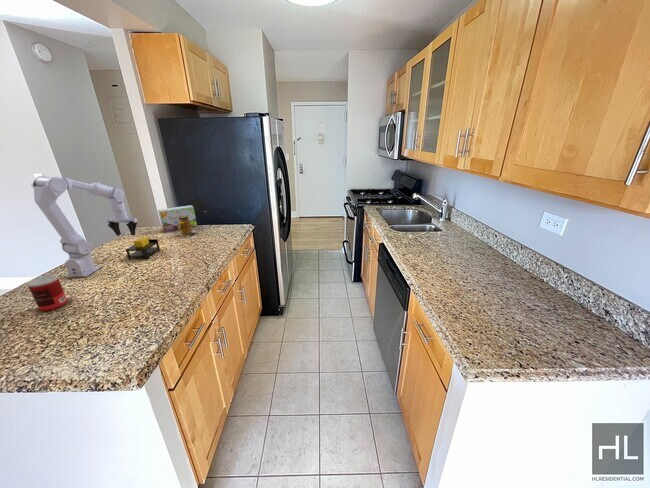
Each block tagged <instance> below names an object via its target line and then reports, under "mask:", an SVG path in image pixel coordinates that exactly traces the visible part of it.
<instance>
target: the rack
mask: <svg viewBox="0 0 650 488" xmlns="http://www.w3.org/2000/svg"><path fill="white" fill-rule="evenodd" d="M148 240H149V244H147V245H145V246H144V247H135V245H134V244H133V245H131V246H129V247H128V248H125V252H126V255H127V258H128V260H131V259H132V258H146V260H149V259H150V258H149V257H150V256H151V255H152V254H153V253H155V252H161V247H160V245H159V240H158V238H148ZM155 245H156V247H154V246H155ZM130 252H132V253H131V254H130Z"/></svg>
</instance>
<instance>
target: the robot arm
mask: <svg viewBox="0 0 650 488" xmlns="http://www.w3.org/2000/svg"><path fill="white" fill-rule="evenodd" d="M30 185H31V187H32V189H33V197H34V199H33V200H34V202H35V204H36V205H37V207H38V208H39V209H40V211H41V212H42V214H43V215H44V217H46V219H47V220H48V222H49V223H50V224H51V226H52V227H53V228H54V230H55V231H56V232H57V234H58V235H59V237H60V238H61V239H60V240H59V243H60V244H61V249H62V251H63V252H65V253H66V254H68V256H69V258H68V259H67V260H65V263H64V266H65V268H66V271H67V273H68V275H67V278H85V277H88V276H90V275H91V274H94V272H96V271H97V270H100V269H101V268H102V266H96V264H95V262H94V259H93V257H92V253H91V252H92V251H93V245H92V243H91V242H89V241H87V240H86V239H85V237H84V236H82V235H80V234H78V232H77V231H76V229H75V228H74V227H73V225H72V224H71V223H70V221H69V219H68V218H67V216H66V215H65V213H64V212H63V211H62V209H61V207H60V206H59V204H58V203H57V200H58V199H59V197H60V196H62V195H63V194H64V193H65V192H66V191H67V190H70V189H75V190H81V191H86V192H88V193H89V194H90V195H93V196H98V197H103V198H105V199H107V201H108V203H109V207H110V210H111V212H112V218H110V217H109V218H106V219H105V221H106V224H107V226H108V227H109V228H110V229H111V230H112V231H113V232H114V233H115V235H116V237H119V236H121V235H122V232H121V229H120V223H125V225H126V227H127V228H128V229H129V233H130V235H131V236H135V235H136V230H137V229H136V228H137V225H138V218H137V217H129V216H128V213H127V210H126V206H125V203H124V196H125V192H124V191H123V190H122V189H121V188H120V187H112V186H111V185H110V184H107V185H105V184H103V183H101V182H99V181H96V182H92V183H90V184H89V183H88V182H87V183H86V182H83V181H80V180H75V179H72V178H68V177H67V178H66V177H60V176H44V175H39V176H37V177H35V178H34V179H33V181H32V183H31V184H30Z"/></svg>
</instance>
